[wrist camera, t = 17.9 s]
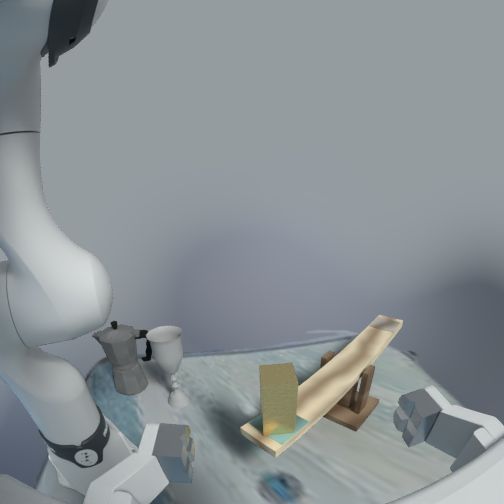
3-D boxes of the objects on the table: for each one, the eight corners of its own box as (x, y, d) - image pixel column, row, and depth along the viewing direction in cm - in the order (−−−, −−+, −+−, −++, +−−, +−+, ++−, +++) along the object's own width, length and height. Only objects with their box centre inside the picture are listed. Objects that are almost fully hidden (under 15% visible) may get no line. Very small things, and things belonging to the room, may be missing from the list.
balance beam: (240, 433, 35) (240, 426, 35) (378, 320, 68) (379, 314, 68) (275, 457, 30) (275, 451, 30) (402, 326, 63) (403, 320, 63)
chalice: (167, 413, 51) (148, 345, 47) (160, 395, 56) (144, 329, 53) (198, 405, 54) (186, 337, 50) (190, 388, 60) (177, 323, 56)
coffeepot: (103, 395, 54) (81, 331, 50) (112, 373, 63) (95, 313, 59) (163, 396, 56) (146, 330, 52) (166, 373, 65) (153, 311, 62)
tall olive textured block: (263, 436, 33) (262, 385, 31) (261, 415, 37) (259, 365, 35) (294, 432, 33) (298, 382, 31) (289, 412, 37) (292, 362, 35)
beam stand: (300, 405, 53) (304, 362, 50) (326, 383, 60) (331, 341, 57) (356, 431, 43) (368, 387, 40) (378, 403, 50) (389, 360, 47)
